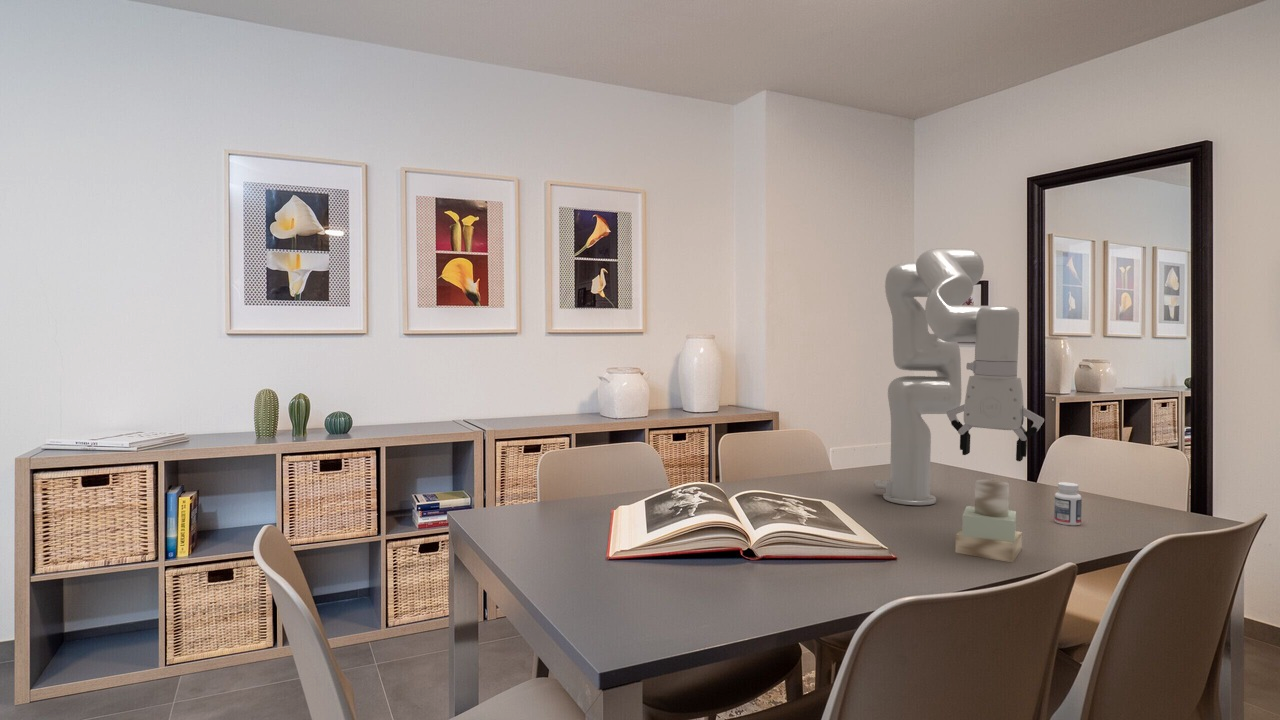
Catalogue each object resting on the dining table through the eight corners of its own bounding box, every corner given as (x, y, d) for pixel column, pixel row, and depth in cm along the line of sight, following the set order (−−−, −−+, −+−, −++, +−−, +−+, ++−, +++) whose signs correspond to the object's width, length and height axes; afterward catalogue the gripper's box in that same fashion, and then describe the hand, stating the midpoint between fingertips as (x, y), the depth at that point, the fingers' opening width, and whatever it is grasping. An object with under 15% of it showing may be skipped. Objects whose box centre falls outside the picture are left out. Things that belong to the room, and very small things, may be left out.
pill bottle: (1074, 520, 167) (1075, 481, 167) (1085, 526, 162) (1086, 486, 162) (1049, 519, 168) (1050, 481, 168) (1060, 525, 163) (1061, 485, 162)
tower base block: (955, 554, 142) (955, 534, 142) (967, 543, 150) (967, 523, 150) (1012, 564, 136) (1012, 543, 136) (1021, 552, 144) (1022, 532, 144)
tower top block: (962, 535, 141) (962, 515, 141) (966, 525, 149) (966, 505, 149) (1014, 542, 137) (1015, 521, 137) (1015, 531, 145) (1016, 511, 145)
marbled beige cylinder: (971, 513, 142) (972, 483, 142) (978, 508, 147) (978, 478, 147) (1005, 518, 139) (1006, 487, 138) (1011, 512, 144) (1011, 482, 143)
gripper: (943, 368, 144) (940, 454, 145) (1042, 373, 134) (1038, 466, 135) (953, 366, 150) (950, 449, 151) (1049, 371, 140) (1045, 459, 141)
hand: (992, 457), depth 143 cm, fingers open, 9 cm apart
